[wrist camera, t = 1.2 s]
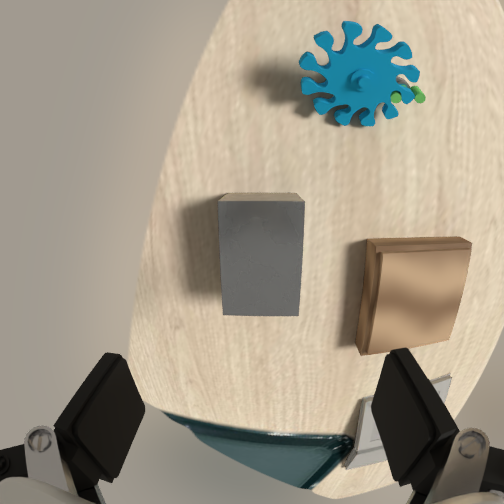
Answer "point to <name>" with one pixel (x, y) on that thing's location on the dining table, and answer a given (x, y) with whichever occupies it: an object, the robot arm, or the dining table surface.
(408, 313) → the stand
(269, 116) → the dining table surface
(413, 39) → the dining table surface
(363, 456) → the grey folded flat piece
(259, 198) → the grey rectangular block
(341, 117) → the gear
